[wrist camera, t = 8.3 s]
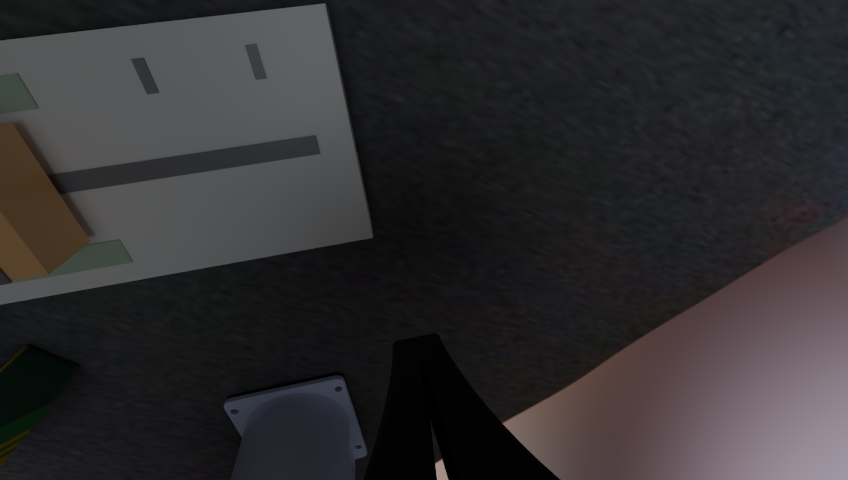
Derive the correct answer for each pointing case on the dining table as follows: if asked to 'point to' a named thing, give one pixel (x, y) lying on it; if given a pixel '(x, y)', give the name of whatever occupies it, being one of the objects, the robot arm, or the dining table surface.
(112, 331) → the dining table surface
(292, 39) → the fader console
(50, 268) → the fader knob
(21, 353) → the crayon box
